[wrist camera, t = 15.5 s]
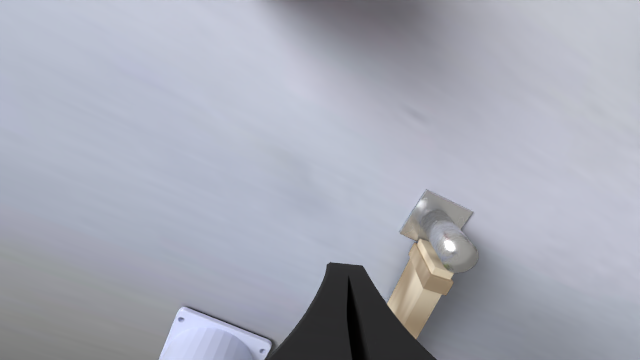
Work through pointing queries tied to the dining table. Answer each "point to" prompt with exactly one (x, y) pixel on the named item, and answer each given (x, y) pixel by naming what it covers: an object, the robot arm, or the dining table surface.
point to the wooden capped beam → (419, 287)
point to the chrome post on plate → (442, 231)
